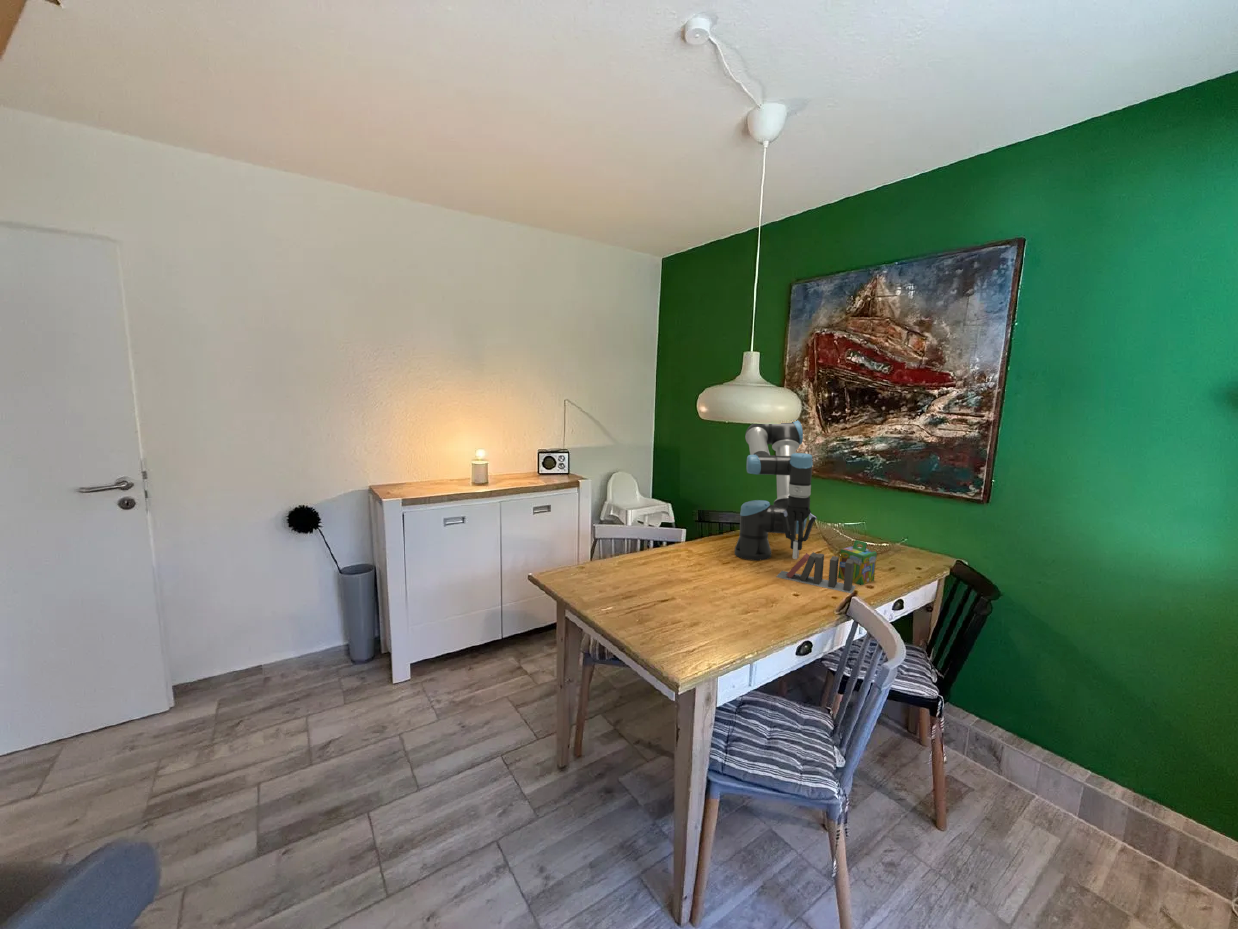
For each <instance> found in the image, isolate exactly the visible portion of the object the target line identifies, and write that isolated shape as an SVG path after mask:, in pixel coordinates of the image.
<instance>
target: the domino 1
mask: <svg viewBox="0 0 1238 929" xmlns="http://www.w3.org/2000/svg"><path fill="white" fill-rule="evenodd" d="M810 555H811V554H808V552H806V553H805V554H804V555H803V556H802V557H801V558H800V559H799V560H798V561H797V563H795V564H794V565H793V567H791V569H790V570H788V571H787V572H788V573H787V574H786V575H787V576H788V577H789V578H790V579H791V577H792V576H793V575H794V574H795V573H796V574H797V572H798V571H799V570H800V569H801V568H802V567H803V566H805V565H806V563H807V561H808V558H809V556H810Z"/></svg>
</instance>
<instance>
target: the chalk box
mask: <svg viewBox="0 0 1238 929" xmlns="http://www.w3.org/2000/svg"><path fill="white" fill-rule="evenodd" d="M858 545H861V546H858ZM867 546H868V542H866V541H861V540H857V539H855V540H854V541H853V545H852V546H848V547H843V548H841V549H840V555H839V556H840V557H839V562H838V575H837V579H840V580H843V581H844V575H845V563H846V561H847V559H853V560H854V569H853V581H852V584H856V585H858V586H863V585H866V584H868V583H871V582H874V581H875V577H876V576H875V574H876V565H877V557H878V552H877V551H875V550H872V549H868V548H867Z"/></svg>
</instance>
